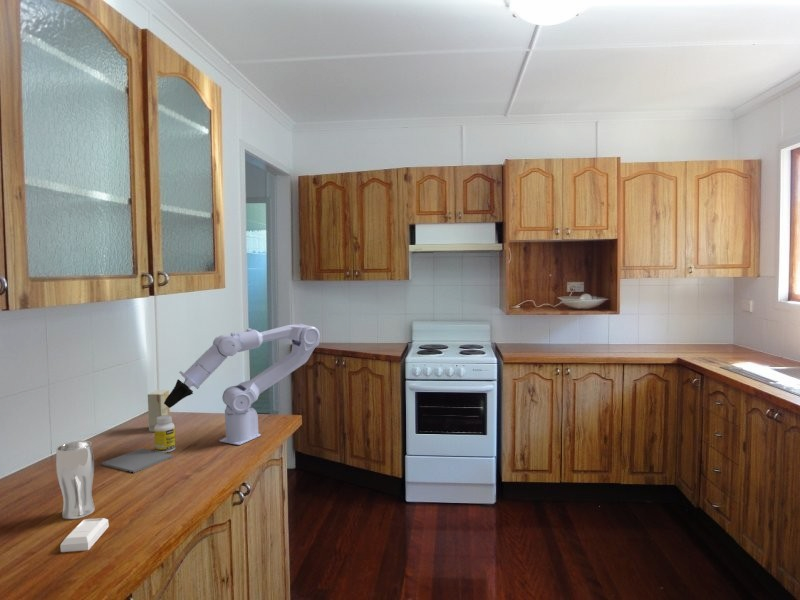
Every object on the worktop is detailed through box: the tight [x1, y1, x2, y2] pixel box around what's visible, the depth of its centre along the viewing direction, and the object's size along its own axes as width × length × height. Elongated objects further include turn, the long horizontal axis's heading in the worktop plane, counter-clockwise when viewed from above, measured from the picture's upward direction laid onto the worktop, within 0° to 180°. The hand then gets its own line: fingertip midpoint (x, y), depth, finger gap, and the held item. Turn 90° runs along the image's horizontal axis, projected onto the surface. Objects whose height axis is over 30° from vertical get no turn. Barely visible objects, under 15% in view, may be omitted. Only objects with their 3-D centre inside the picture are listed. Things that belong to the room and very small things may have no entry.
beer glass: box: [55, 440, 96, 520], centre depth 116 cm, size 7×7×15 cm
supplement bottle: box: [153, 414, 176, 454], centre depth 154 cm, size 5×5×10 cm
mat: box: [101, 447, 173, 474], centre depth 146 cm, size 12×13×1 cm
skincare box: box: [147, 389, 171, 433], centre depth 173 cm, size 6×4×12 cm
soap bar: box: [59, 517, 110, 553], centre depth 106 cm, size 5×9×3 cm, turn 6°
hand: (166, 404), depth 150 cm, fingers open, 7 cm apart
